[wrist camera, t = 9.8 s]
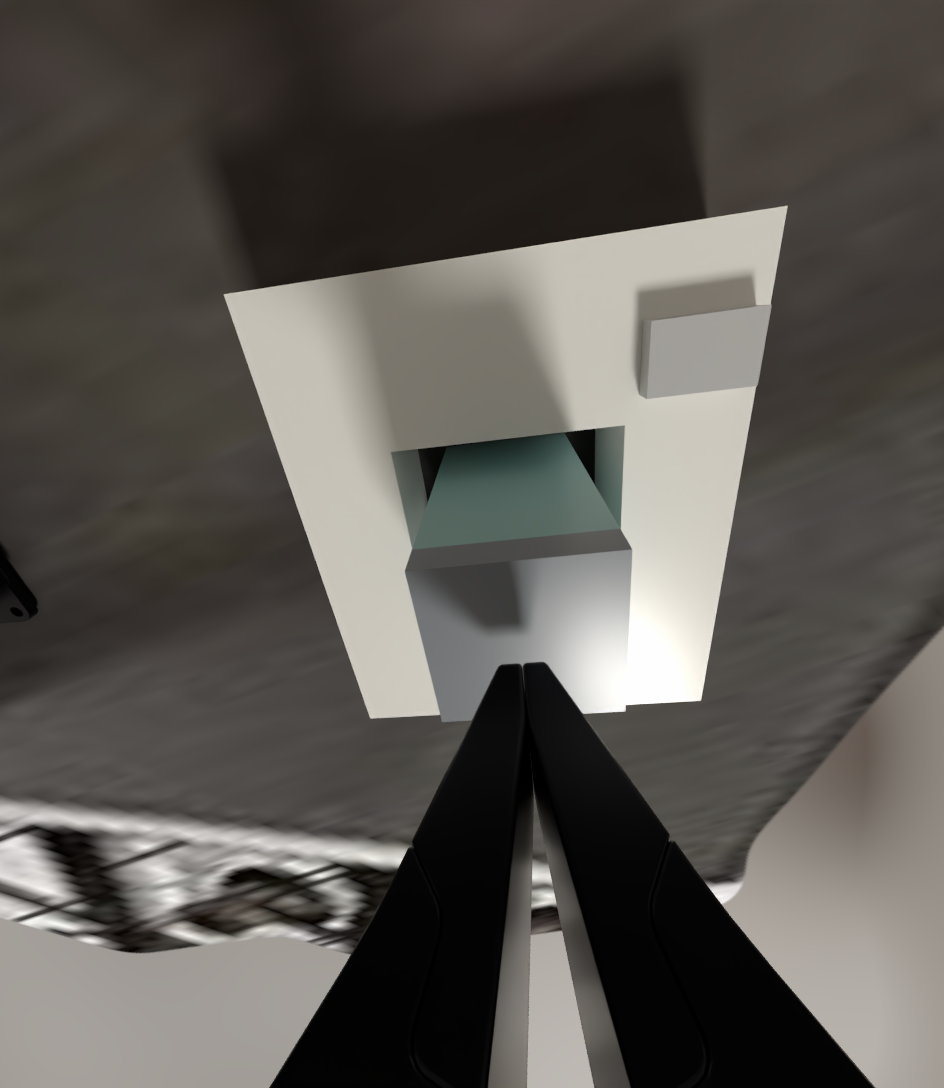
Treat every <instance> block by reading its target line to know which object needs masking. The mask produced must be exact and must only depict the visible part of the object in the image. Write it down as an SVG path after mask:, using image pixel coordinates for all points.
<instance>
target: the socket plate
mask: <svg viewBox="0 0 944 1088" xmlns="http://www.w3.org/2000/svg"><path fill="white" fill-rule="evenodd" d="M786 212H787V206H784V207H777V208H771V209H764V210H758V211H752V212H745V213H739V214H733V215H726V216H720V217H714V218H707V219H701V220H694V221H688V222H682V223H675V224H669V225H663V226H656V227H650V228H644V229H637V230H631V231H624V232H618V233H612V234H605V235H599V236H593V237H586V238H580V239H574V240H567V241H561V242H554V243H548V244H542V245H535V246H529V247H523V248H516V249H510V250H504V251H497V252H491V253H484V254H478V255H472V256H465V257H459V258H453V259H446V260H440V261H434V262H427V263H421V264H414V265H408V266H402V267H395V268H389V269H383V270H376V271H370V272H364V273H357V274H351V275H344V276H338V277H332V278H325V279H319V280H313V281H306V282H300V283H294V284H287V285H281V286H274V287H268V288H262V289H255V290H249V291H243V292H236V293H230V294H224V297H225V300H226V302H227V305H228V308H229V311H230V314H231V317H232V320H233V323H234V326H235V328H236V331H237V334H238V337H239V340H240V343H241V346H242V349H243V352H244V354H245V357H246V360H247V363H248V366H249V369H250V372H251V375H252V378H253V381H254V383H255V386H256V389H257V392H258V395H259V398H260V401H261V404H262V407H263V409H264V412H265V415H266V418H267V421H268V424H269V427H270V430H271V433H272V435H273V438H274V441H275V444H276V447H277V450H278V453H279V456H280V459H281V462H282V464H283V467H284V470H285V473H286V476H287V479H288V482H289V485H290V488H291V490H292V493H293V496H294V499H295V502H296V505H297V508H298V511H299V514H300V516H301V519H302V522H303V525H304V528H305V531H306V534H307V537H308V540H309V543H310V545H311V548H312V551H313V554H314V557H315V560H316V563H317V566H318V569H319V571H320V574H321V577H322V580H323V583H324V586H325V589H326V592H327V595H328V597H329V600H330V603H331V606H332V609H333V612H334V615H335V618H336V621H337V624H338V626H339V629H340V632H341V635H342V638H343V641H344V644H345V647H346V650H347V652H348V655H349V658H350V661H351V664H352V667H353V670H354V673H355V676H356V678H357V681H358V684H359V687H360V690H361V693H362V696H363V699H364V702H365V704H366V707H367V710H368V713H369V716H370V719H371V718H389V717H408V716H426V715H440V712H439V708H438V704H437V700H436V696H435V692H434V688H433V684H432V680H431V675H430V671H429V667H428V663H427V659H426V655H425V651H424V647H423V643H422V639H421V635H420V631H419V627H418V623H417V619H416V615H415V611H414V607H413V603H412V599H411V595H410V591H409V587H408V583H407V579H406V575H405V569H406V566H407V563H408V560H409V557H410V554H411V551H412V548H413V545H414V542H415V539H416V536H417V533H418V530H419V527H420V524H421V521H422V518H423V515H424V513H425V510H426V507H427V504H428V501H427V496H426V490H425V485H424V480H423V474H422V469H421V464H420V459H419V453H418V449H423V448H431V447H440V446H449V445H457V444H466V443H475V442H484V441H492V440H501V439H510V438H518V437H527V436H536V435H545V434H553V433H562V432H571V431H579V430H588V429H595V486H596V488H597V490H598V491H599V493H600V495H601V496H602V498H603V500H604V502H605V503H606V505H607V507H608V508H609V510H610V512H611V514H612V515H613V517H614V519H615V520H616V522H617V524H618V526H619V527H620V529H621V531H622V532H623V534H624V536H625V538H626V539H627V541H628V543H629V544H630V546H631V548H632V571H631V593H630V616H629V638H628V661H627V683H626V705H631V704H650V703H668V702H687V701H701V697H702V691H703V686H704V680H705V674H706V669H707V663H708V657H709V652H710V646H711V640H712V634H713V629H714V623H715V617H716V612H717V606H718V600H719V594H720V589H721V583H722V577H723V572H724V566H725V560H726V555H727V549H728V543H729V537H730V532H731V526H732V520H733V515H734V509H735V503H736V497H737V492H738V486H739V480H740V475H741V469H742V463H743V458H744V452H745V446H746V440H747V435H748V429H749V423H750V418H751V412H752V406H753V400H754V395H755V389H756V386H757V385H758V380H759V374H760V368H761V363H762V357H763V351H764V346H765V340H766V334H767V329H768V323H769V317H770V312H771V306H772V305H770V303H771V298H772V292H773V286H774V281H775V275H776V269H777V264H778V258H779V252H780V246H781V241H782V235H783V229H784V224H785V218H786Z"/></svg>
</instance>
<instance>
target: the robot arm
mask: <svg viewBox="0 0 944 1088" xmlns="http://www.w3.org/2000/svg"><path fill="white" fill-rule="evenodd" d="M37 613H38V609H37V607H36V605H35V604H34V602H33V601H32V600H31V598H30V597H29V596H28V594H27V593H26V592H25V590H24V589H23V587H22V586H21V585H20V583H19V582H18V581H17V579H16V578H15V577H14V575H13V574H12V573H11V571H10V570H9V569H8V567H7V566H6V565H5V563H4V562H3V561H2V559H1V558H0V623H10V622H22V621H27V620H29V619H30V618H32V617H33V616H35V615H36V614H37ZM523 677H524V679H523ZM529 743H530V744H529ZM530 754H531V756H530ZM531 764H532V767H531ZM532 775H533V778H532ZM533 784H534V792H535V799H536V804H537V810H538V815H539V820H540V825H541V829H542V834H543V839H544V844H545V849H546V854H547V859H548V864H549V868H550V873H551V878H552V883H553V888H554V893H555V898H556V903H557V908H558V912H559V917H560V922H561V927H562V932H563V936H564V942H565V946H566V951H567V956H568V961H569V966H570V971H571V976H572V980H573V985H574V990H575V995H576V1000H577V1005H578V1010H579V1015H580V1020H581V1025H582V1029H583V1034H584V1039H585V1044H586V1049H587V1054H588V1058H589V1063H590V1068H591V1073H592V1078H593V1083H594V1088H875V1087H874V1086H873V1085H872V1083H871V1082H870V1081H869V1080H868V1079H867V1077H866V1076H865V1075H864V1074H863V1073H862V1072H861V1070H860V1069H859V1068H858V1067H857V1066H856V1065H855V1063H854V1062H853V1061H852V1060H851V1059H850V1058H849V1056H848V1055H847V1054H846V1053H845V1052H844V1051H843V1049H842V1048H841V1047H840V1046H839V1045H838V1044H837V1043H836V1041H835V1040H834V1039H833V1038H832V1037H831V1035H830V1034H829V1033H828V1032H827V1031H826V1030H825V1028H824V1027H823V1026H822V1025H821V1024H820V1023H819V1021H818V1020H817V1019H816V1018H815V1017H814V1016H813V1014H812V1013H811V1012H810V1011H809V1010H808V1009H807V1007H806V1006H805V1005H804V1004H803V1003H802V1001H801V1000H800V999H799V998H798V997H797V996H796V994H795V993H794V992H793V991H792V990H791V989H790V987H789V986H788V985H787V984H786V983H785V982H784V980H783V979H782V978H781V977H780V976H779V975H778V974H777V972H776V971H775V970H774V969H773V967H772V966H771V965H770V964H769V963H768V961H767V960H766V959H765V958H764V957H763V955H762V954H761V953H760V952H759V950H758V949H757V948H756V947H755V946H754V944H753V943H752V942H751V941H750V940H749V938H748V937H747V936H746V935H745V933H744V932H743V931H742V930H741V929H740V927H739V926H738V925H737V924H736V923H735V921H734V920H733V919H732V918H731V916H730V915H729V914H728V912H727V911H726V910H725V909H724V907H723V906H722V905H721V903H720V902H719V901H718V899H717V898H716V897H715V895H714V894H713V893H712V891H711V890H710V889H709V887H708V886H707V885H706V883H705V882H704V881H703V879H702V878H701V877H700V875H699V874H698V873H697V871H696V870H695V869H694V867H693V866H692V865H691V863H690V862H689V860H688V859H687V858H686V856H685V855H684V853H683V852H682V851H681V849H680V848H679V846H678V845H677V844H676V842H675V841H672V840H671V841H670V834H669V833H668V832H667V830H666V829H665V827H664V826H663V825H662V823H661V822H660V820H659V819H658V818H657V816H656V815H655V813H654V812H653V811H652V809H651V808H650V806H649V805H648V804H647V802H646V801H645V799H644V798H643V797H642V795H641V794H640V793H639V791H638V790H637V788H636V787H635V786H634V784H633V783H632V781H631V780H630V779H629V777H628V776H627V774H626V773H625V772H624V770H623V769H622V767H621V766H620V765H619V763H618V762H617V760H616V759H615V758H614V756H613V755H612V754H611V752H610V751H609V749H608V748H607V747H606V745H605V744H604V742H603V741H602V740H601V738H600V737H599V735H598V734H597V733H596V731H595V730H594V728H593V727H592V726H591V724H590V723H589V721H588V720H587V719H586V717H585V716H584V714H583V713H582V712H581V710H580V709H579V708H578V706H577V705H576V703H575V702H574V701H573V699H572V698H571V696H570V695H569V694H568V692H567V691H566V689H565V688H564V687H563V685H562V684H561V682H560V681H559V680H558V678H557V677H556V675H555V674H554V673H553V671H552V670H551V669H550V667H549V666H548V665H547V664H546V663H545V662H530V663H525V664H524V665H523V668H522V665H521V664H519V663H514V664H501V665H500V666H498V668H497V670H496V672H495V674H494V676H493V678H492V680H491V682H490V684H489V686H488V688H487V690H486V692H485V694H484V696H483V698H482V700H481V702H480V704H479V706H478V708H477V710H476V712H475V714H474V716H473V718H472V720H471V722H470V724H469V726H468V729H467V731H466V733H465V735H464V737H463V739H462V741H461V743H460V745H459V747H458V749H457V751H456V753H455V755H454V757H453V759H452V761H451V763H450V765H449V767H448V769H447V771H446V773H445V775H444V777H443V779H442V781H441V783H440V785H439V787H438V789H437V791H436V793H435V795H434V797H433V800H432V802H431V804H430V806H429V808H428V810H427V812H426V814H425V816H424V818H423V820H422V822H421V824H420V826H419V828H418V830H417V832H416V834H415V836H414V838H413V840H412V847H413V848H412V847H409V848H408V850H407V852H406V854H405V856H404V858H403V860H402V862H401V864H400V866H399V868H398V870H397V872H396V874H395V876H394V878H393V880H392V882H391V884H390V886H389V887H388V889H387V891H386V893H385V895H384V897H383V899H382V901H381V903H380V905H379V906H378V908H377V910H376V912H375V914H374V916H373V918H372V920H371V921H370V923H369V925H368V927H367V928H366V930H365V932H364V933H363V935H362V937H361V938H360V940H359V942H358V944H357V945H356V947H355V949H354V950H353V952H352V954H351V955H350V957H349V959H348V961H347V962H346V964H345V966H344V967H343V969H342V971H341V972H340V974H339V976H338V977H337V979H336V980H335V982H334V984H333V985H332V987H331V989H330V990H329V992H328V993H327V995H326V997H325V998H324V1000H323V1002H322V1003H321V1005H320V1006H319V1008H318V1010H317V1011H316V1013H315V1015H314V1016H313V1018H312V1019H311V1021H310V1023H309V1024H308V1026H307V1028H306V1029H305V1031H304V1032H303V1034H302V1036H301V1037H300V1039H299V1040H298V1042H297V1044H296V1045H295V1047H294V1048H293V1050H292V1052H291V1053H290V1055H289V1057H288V1058H287V1060H286V1061H285V1063H284V1065H283V1066H282V1068H281V1070H280V1071H279V1073H278V1074H277V1076H276V1078H275V1079H274V1081H273V1083H272V1084H271V1086H270V1087H269V1088H527V1057H528V1053H527V1052H528V1016H529V1014H528V1013H529V975H530V972H529V971H530V935H531V894H532V853H533V812H534V794H533Z"/></svg>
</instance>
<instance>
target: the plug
mask: <svg viewBox="0 0 944 1088" xmlns="http://www.w3.org/2000/svg"><path fill="white" fill-rule="evenodd" d="M631 571H632V548H631V546H630V544H629V543H628V541H627V539H626V538H625V536H624V534H623V532H622V531H621V529H620V527H619V526H618V524H617V522H616V520H615V519H614V517H613V515H612V514H611V512H610V510H609V508H608V507H607V505H606V503H605V502H604V500H603V498H602V496H601V495H600V493H599V491H598V490H597V488H596V486H595V485H594V483H593V481H592V479H591V478H590V476H589V474H588V473H587V471H586V469H585V467H584V466H583V464H582V462H581V461H580V459H579V457H578V455H577V454H576V452H575V450H574V449H573V447H572V445H571V443H570V442H569V440H568V438H567V437H566V435H565V433H558V434H549V435H541V436H533V437H525V438H517V439H509V440H501V441H493V442H485V443H477V444H469V445H461V446H453V447H446V450H445V453H444V456H443V459H442V462H441V465H440V468H439V471H438V474H437V477H436V480H435V483H434V486H433V489H432V492H431V495H430V498H429V501H428V504H427V507H426V510H425V513H424V515H423V518H422V521H421V524H420V527H419V530H418V533H417V536H416V539H415V542H414V545H413V548H412V551H411V554H410V557H409V560H408V563H407V566H406V569H405V575H406V579H407V583H408V587H409V591H410V595H411V599H412V603H413V607H414V611H415V615H416V619H417V623H418V627H419V631H420V635H421V639H422V643H423V647H424V651H425V655H426V659H427V663H428V667H429V671H430V675H431V680H432V684H433V688H434V692H435V696H436V700H437V704H438V708H439V712H440V716H441V720H442V722H449V721H466V720H472V718H473V716H474V714H475V712H476V710H477V708H478V706H479V704H480V702H481V700H482V698H483V696H484V694H485V692H486V690H487V688H488V686H489V684H490V682H491V680H492V678H493V676H494V674H495V672H496V670H497V668H498V666H500V665H501V664H514V663H519V664H521V665H522V668H523V665H524V664H525V663H530V662H545V663H546V664H547V665H548V666H549V667H550V669H551V670H552V671H553V673H554V674H555V675H556V677H557V678H558V680H559V681H560V682H561V684H562V685H563V687H564V688H565V689H566V691H567V692H568V694H569V695H570V696H571V698H572V699H573V701H574V702H575V703H576V705H577V706H578V708H579V709H580V710H581V712H582V713H583V714H586V713H603V712H620V711H625V706H626V683H627V661H628V638H629V616H630V593H631ZM523 679H524V677H523Z"/></svg>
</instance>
